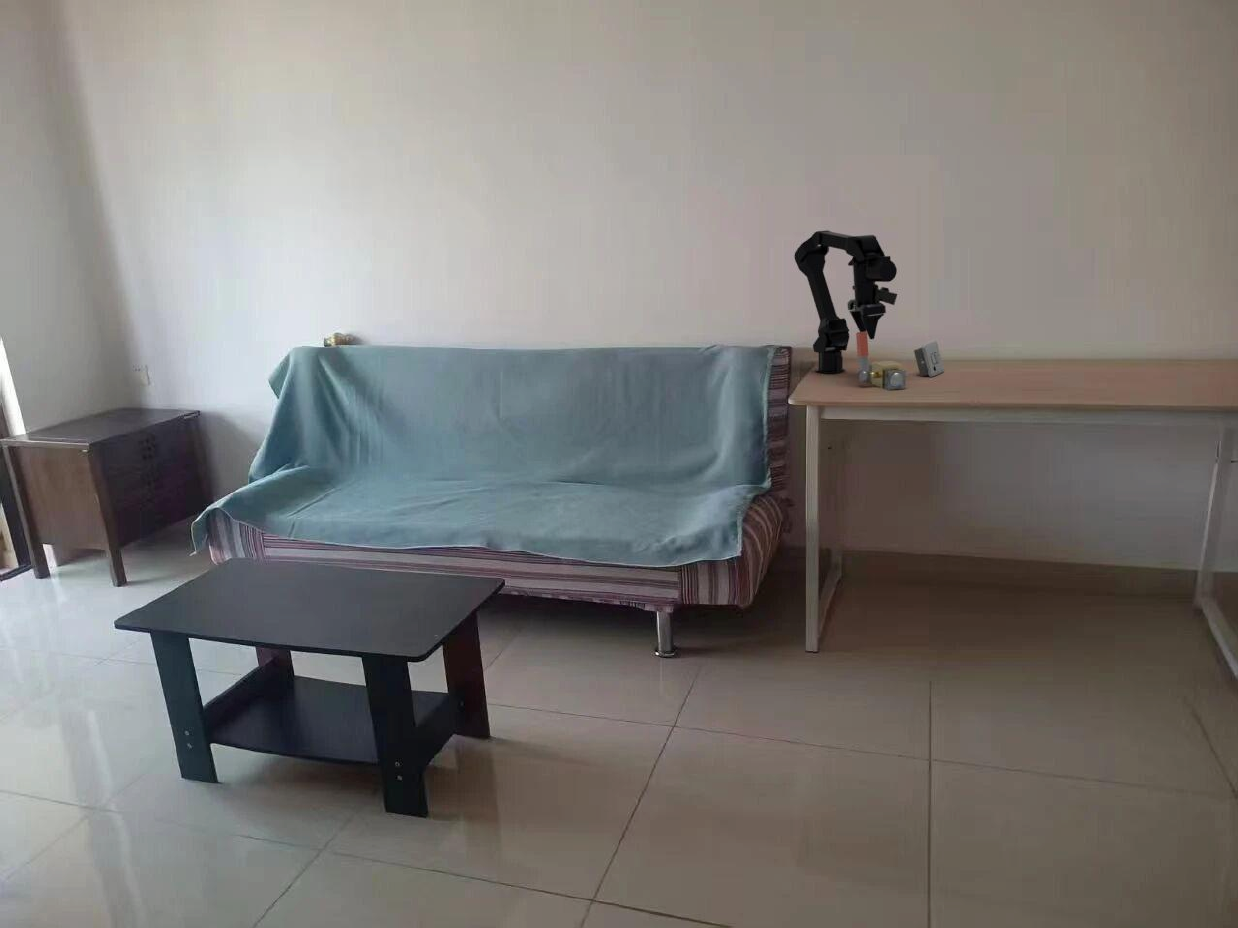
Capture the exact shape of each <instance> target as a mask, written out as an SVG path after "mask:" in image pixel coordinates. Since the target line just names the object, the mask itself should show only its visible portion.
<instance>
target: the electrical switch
mask: <svg viewBox="0 0 1238 928" xmlns="http://www.w3.org/2000/svg"><path fill="white" fill-rule="evenodd" d="M913 353H914V356H915V357H914V358H915V360H916V364H917V368H918V371H919V376H920V377H924V376H925V377H926V376H929V378H933V377H935V376H938V375H940V374H942V373H944V371H945V369H944V368H945V367H944V364H943V360H942V357H941V353H940V348H939V344H938V342H937V341H936V340H933V341H930V342H927V343H925V344H922V345H921V347H919V348H917V349H914V350H913Z"/></svg>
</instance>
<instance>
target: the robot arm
mask: <svg viewBox="0 0 1238 928" xmlns="http://www.w3.org/2000/svg"><path fill="white" fill-rule="evenodd" d="M830 248H833V249H838V250H843V251H845V253H846V254H847V255H849V256H851V257H852V259H850V261H849V262H848V263H847V265H848V267H849V266H851V267H852V272H853V285H852V290H853V291H854V299H850V300H848V302H847V304H846V305H847V310H848V312H849V314H850V315H851V318H852V319H853V322H854V323H855V325H856V326H857V329H858V331H859V332H867V337H868V338H869V340H874V339H875V336H876V332H877V331H876V330H877V327H878V323H879V320H880V319H881V318H882V317H883V316H885V314H886V313H887V311H886V309H887V308H886V305H885V304H889V305H892V306H894V305H895V303H896V300H897V296H898V293H895V292H892V291H890V289H889V287H884V286H882V287H880V288H879V285H878V284H877V283H881V282H883V283H885V282H886V283H890V282H892V281H893V280H894V279H895V278H896V275H897V271H898V269H897V266H896V264H895V263H894V261H892V260H891V255H885V252H884V251H883V249H882V247H881V245H880V243H879V241H878V240H877V236H876V235H874V234H865V235H854V236H853V235H850V234H845V233H838V232H835V231H830V230H817V231H815V232H814V233H813V234H812V235H811V237H809V238H808V239H806V240H805V241H803V242H802V243H801V244H800V245H799V247H797V250H795V252H794V261H795V263H796V265H797V268H798V270H799V271H800V273H802V274H803V275H804V276H805V277H806V278H807V281H808V285H809V288H810V292H811V296H812V297H813V301H814V305H815V308H816V312H817V315H818V318H819V326H818V328H817V334H818V337H817V339H816V340H815V341H814V343H813V344H812V348H813V352H814V353H818V369H815V370H814V372H816V373H821V374H830V375H831V374H838V373H841V372H846V368H845V369H844V368H843V367H844V365H843V364H844V363H843V361H844V360H843V355H842V354H843V351H847V348H848V345H849V340H850V329H849V327H848V324H847V320H846V318H844V317H843V318H840V317H839V316H838V315H837V313H836V309H835V306H834V302H833V299H832V296H831V294H830V293H831V292H830V288H829V286H828V283H827V280H826V276H825V274H824V269H825V266H826V261H827V260H826V257H827V255H828V253H829V252H830ZM876 282H877V283H876ZM883 303H885V304H883Z"/></svg>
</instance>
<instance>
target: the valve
mask: <svg viewBox="0 0 1238 928" xmlns="http://www.w3.org/2000/svg"><path fill="white" fill-rule="evenodd" d="M868 371H869V374H870V379H869V381H868V382H869V383H871V384H872V385H874V386H877V387H878V388H879V387H880V388H881V389H886V390H887V391H890V390H891V391H892V390H903V389H906V380H907V379H906V378H907V377H906V375H907V371H906V370H904V369H903V364H902V363H900V362H896V361H893V360H885V361H884V360H882V361H872V362H871V364H868Z"/></svg>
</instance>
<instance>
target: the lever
mask: <svg viewBox="0 0 1238 928" xmlns="http://www.w3.org/2000/svg"><path fill="white" fill-rule="evenodd" d="M855 335H856V350H857V351H856V353H857V357H858V365H859V372H858V381H859V382H861V383H863V382H869V379H870V374H869V364H868V363H869V362H868V357H869V345H868V343H869V342H868V341H869V340H868V334H867V331H866V332H860V331H859V332H856V333H855Z"/></svg>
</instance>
